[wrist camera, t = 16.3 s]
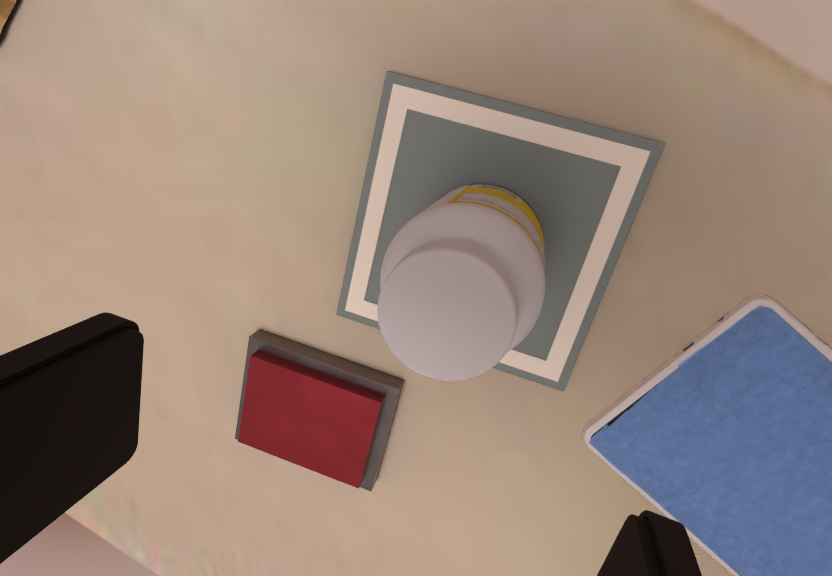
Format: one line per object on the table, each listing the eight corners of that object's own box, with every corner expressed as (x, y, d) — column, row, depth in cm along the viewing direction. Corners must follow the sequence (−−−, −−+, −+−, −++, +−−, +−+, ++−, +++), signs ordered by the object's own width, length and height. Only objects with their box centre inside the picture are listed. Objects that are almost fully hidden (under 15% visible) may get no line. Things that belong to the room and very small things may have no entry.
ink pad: (404, 380, 32) (394, 397, 30) (376, 479, 34) (366, 500, 32) (259, 329, 33) (241, 342, 31) (244, 428, 36) (227, 446, 34)
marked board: (663, 143, 24) (665, 143, 24) (563, 388, 29) (563, 392, 29) (389, 71, 26) (386, 70, 26) (338, 312, 31) (335, 315, 31)
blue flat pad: (573, 427, 30) (574, 440, 29) (756, 282, 26) (766, 290, 24) (809, 635, 31) (820, 656, 30) (1033, 530, 26) (1057, 550, 25)
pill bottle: (426, 296, 29) (356, 399, 18) (421, 182, 27) (340, 221, 16) (543, 300, 28) (542, 415, 17) (547, 179, 26) (549, 220, 15)
